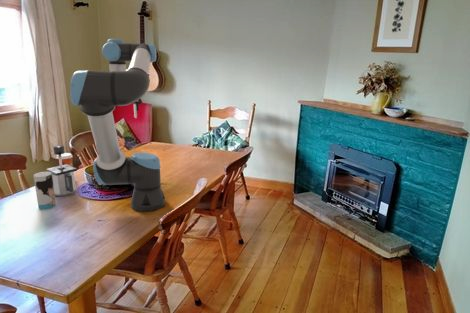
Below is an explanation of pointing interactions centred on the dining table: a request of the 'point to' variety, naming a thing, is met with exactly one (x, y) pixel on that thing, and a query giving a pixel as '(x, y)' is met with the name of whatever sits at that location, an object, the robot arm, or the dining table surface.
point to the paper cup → (66, 159)
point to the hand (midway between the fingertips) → (121, 118)
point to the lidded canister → (63, 180)
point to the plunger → (59, 154)
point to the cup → (44, 190)
